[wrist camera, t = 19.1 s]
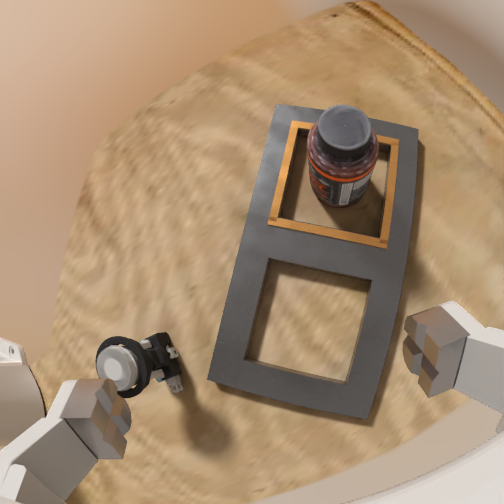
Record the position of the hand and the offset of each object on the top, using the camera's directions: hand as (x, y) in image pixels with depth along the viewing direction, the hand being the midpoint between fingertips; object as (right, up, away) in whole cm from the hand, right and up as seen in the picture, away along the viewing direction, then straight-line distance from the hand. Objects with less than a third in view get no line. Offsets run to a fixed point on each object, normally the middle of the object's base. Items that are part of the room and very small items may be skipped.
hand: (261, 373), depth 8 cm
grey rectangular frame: (+7, +3, +23) cm, 24 cm away
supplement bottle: (+9, +10, +24) cm, 28 cm away
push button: (-9, -9, +25) cm, 28 cm away
